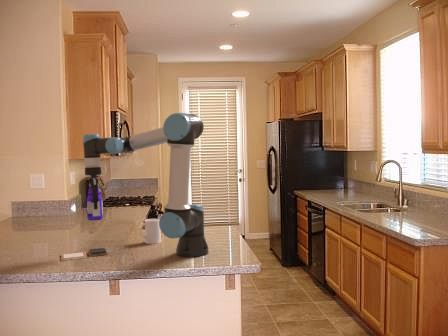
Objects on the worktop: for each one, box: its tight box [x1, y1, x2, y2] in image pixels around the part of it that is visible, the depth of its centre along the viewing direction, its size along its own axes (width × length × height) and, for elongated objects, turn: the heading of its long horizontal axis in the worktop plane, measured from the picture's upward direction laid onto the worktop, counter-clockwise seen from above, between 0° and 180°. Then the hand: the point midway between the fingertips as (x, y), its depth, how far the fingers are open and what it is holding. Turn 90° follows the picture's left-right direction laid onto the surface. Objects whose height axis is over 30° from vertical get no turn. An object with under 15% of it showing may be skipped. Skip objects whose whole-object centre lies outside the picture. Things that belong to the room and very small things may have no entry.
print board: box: [60, 251, 88, 261], centre depth 214 cm, size 11×11×1 cm
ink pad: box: [87, 247, 108, 258], centre depth 218 cm, size 9×8×2 cm
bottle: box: [86, 186, 104, 221], centre depth 216 cm, size 7×6×17 cm
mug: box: [139, 218, 162, 245], centre depth 239 cm, size 12×8×12 cm
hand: (95, 214), depth 217 cm, fingers closed on bottle, 6 cm apart
